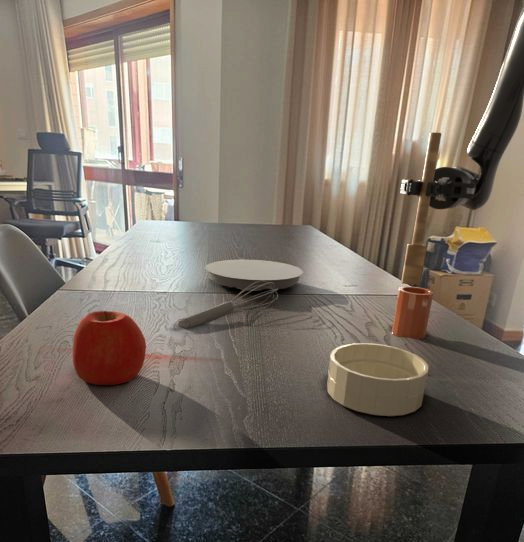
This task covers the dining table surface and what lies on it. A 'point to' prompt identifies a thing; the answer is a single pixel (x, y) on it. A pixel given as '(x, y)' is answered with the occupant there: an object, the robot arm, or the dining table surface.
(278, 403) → the dining table surface
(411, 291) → the crock
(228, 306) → the kitchen whisk
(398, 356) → the mixing bowl
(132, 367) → the apple
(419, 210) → the wooden stick
